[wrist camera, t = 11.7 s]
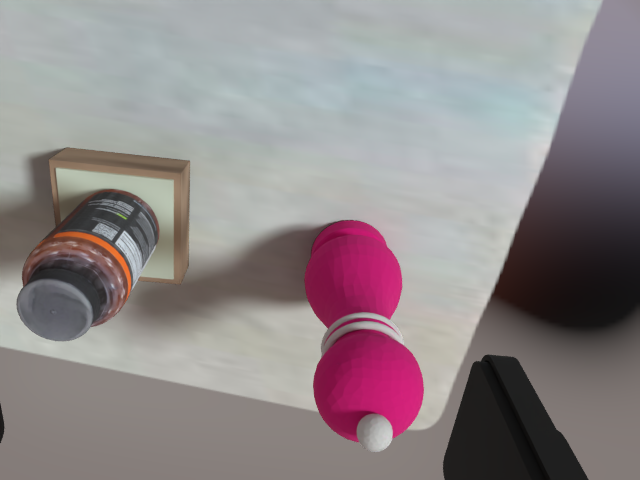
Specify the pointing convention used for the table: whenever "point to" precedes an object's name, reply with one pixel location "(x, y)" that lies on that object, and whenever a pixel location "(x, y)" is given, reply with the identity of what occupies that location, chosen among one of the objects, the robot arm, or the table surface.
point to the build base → (141, 180)
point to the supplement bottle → (87, 265)
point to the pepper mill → (361, 337)
